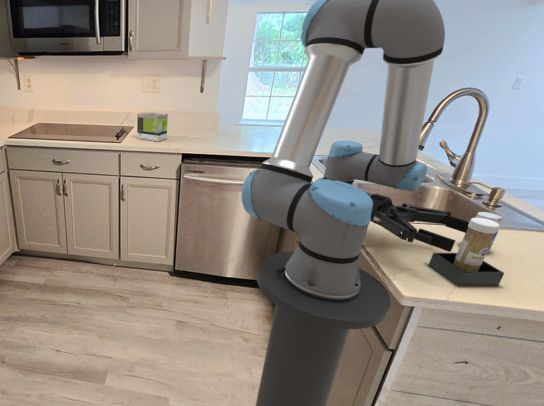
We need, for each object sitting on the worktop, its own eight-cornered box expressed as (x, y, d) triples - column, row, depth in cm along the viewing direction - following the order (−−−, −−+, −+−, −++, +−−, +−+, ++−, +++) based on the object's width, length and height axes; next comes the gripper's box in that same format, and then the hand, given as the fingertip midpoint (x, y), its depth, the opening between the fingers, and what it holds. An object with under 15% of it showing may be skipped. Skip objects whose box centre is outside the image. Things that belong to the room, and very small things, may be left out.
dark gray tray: (457, 286, 81) (463, 272, 79) (428, 265, 89) (433, 252, 87) (498, 286, 80) (504, 273, 79) (464, 265, 88) (470, 252, 87)
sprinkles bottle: (470, 281, 81) (494, 227, 76) (445, 271, 85) (467, 219, 80) (479, 275, 83) (504, 222, 78) (455, 265, 87) (476, 215, 82)
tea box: (167, 138, 215) (168, 113, 209) (157, 142, 208) (158, 116, 202) (146, 135, 224) (147, 111, 218) (136, 138, 217) (136, 113, 211)
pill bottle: (474, 254, 92) (489, 220, 88) (454, 243, 97) (468, 210, 93) (495, 253, 92) (511, 219, 88) (474, 243, 97) (488, 210, 93)
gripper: (390, 208, 106) (486, 239, 88) (336, 228, 96) (433, 267, 78) (398, 184, 103) (499, 212, 85) (343, 202, 93) (445, 237, 75)
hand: (467, 238), depth 82 cm, fingers open, 13 cm apart
